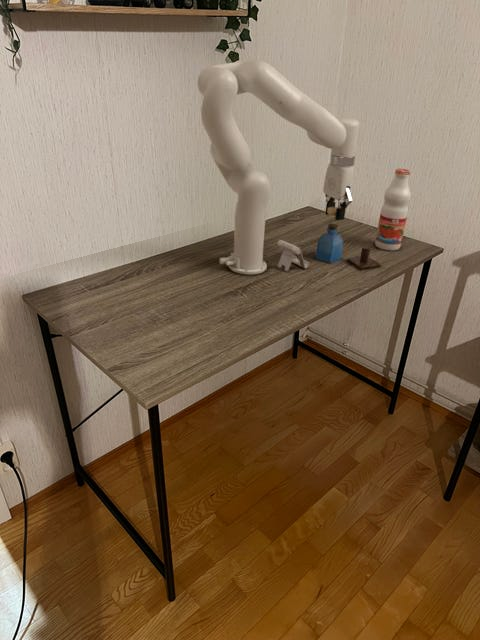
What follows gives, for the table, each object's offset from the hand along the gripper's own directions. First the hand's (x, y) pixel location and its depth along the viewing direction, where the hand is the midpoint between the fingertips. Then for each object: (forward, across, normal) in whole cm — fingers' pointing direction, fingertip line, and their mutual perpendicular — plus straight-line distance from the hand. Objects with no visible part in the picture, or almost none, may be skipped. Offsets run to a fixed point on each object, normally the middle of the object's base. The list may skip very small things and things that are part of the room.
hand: (334, 216), depth 164 cm
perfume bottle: (+15, 0, 0) cm, 15 cm away
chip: (-1, 0, 0) cm, 1 cm away
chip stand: (+15, +8, +9) cm, 19 cm away
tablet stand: (+15, +2, -16) cm, 22 cm away
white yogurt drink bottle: (+15, -3, +28) cm, 32 cm away
